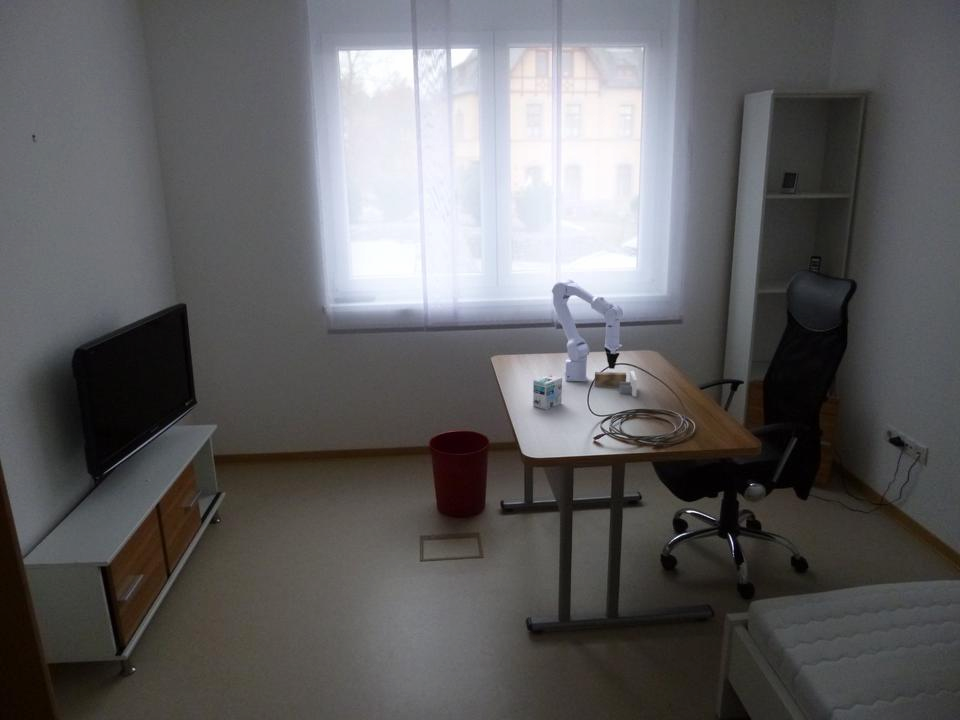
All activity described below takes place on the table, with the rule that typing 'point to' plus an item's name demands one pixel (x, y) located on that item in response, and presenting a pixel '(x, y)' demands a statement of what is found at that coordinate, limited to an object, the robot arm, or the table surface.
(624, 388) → the bracket
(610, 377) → the rail
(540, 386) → the light bulb box
